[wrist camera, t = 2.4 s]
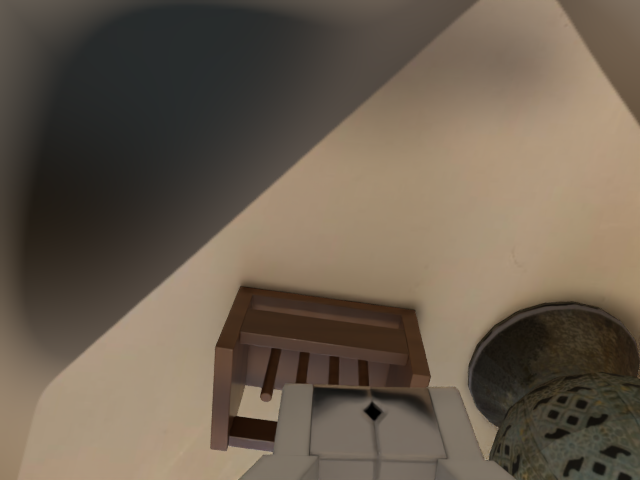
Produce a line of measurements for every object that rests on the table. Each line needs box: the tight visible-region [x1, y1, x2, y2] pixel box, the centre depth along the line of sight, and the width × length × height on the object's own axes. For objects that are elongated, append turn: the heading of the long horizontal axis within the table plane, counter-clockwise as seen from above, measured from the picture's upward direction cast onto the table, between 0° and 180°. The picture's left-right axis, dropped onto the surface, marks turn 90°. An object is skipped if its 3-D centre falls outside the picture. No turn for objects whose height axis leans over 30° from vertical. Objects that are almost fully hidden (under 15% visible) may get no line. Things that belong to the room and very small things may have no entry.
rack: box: [210, 287, 431, 452], centre depth 37 cm, size 9×14×8 cm, turn 83°
